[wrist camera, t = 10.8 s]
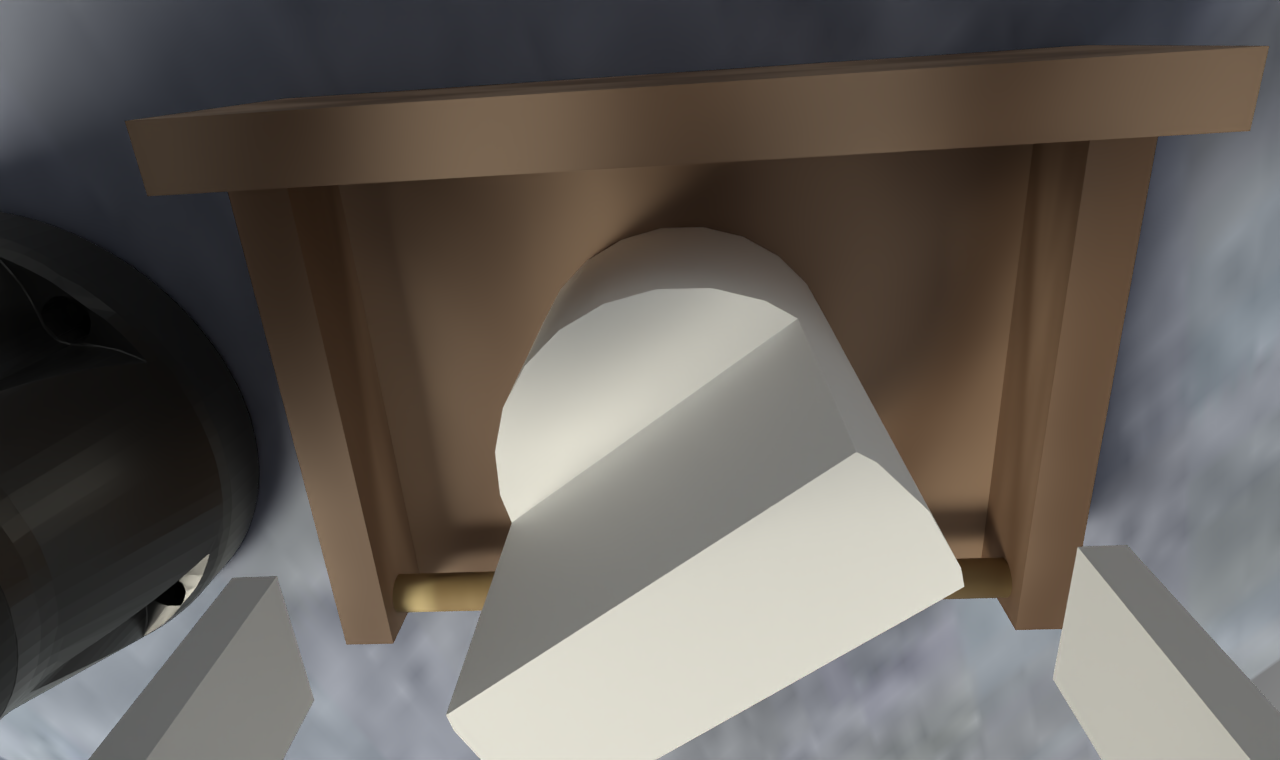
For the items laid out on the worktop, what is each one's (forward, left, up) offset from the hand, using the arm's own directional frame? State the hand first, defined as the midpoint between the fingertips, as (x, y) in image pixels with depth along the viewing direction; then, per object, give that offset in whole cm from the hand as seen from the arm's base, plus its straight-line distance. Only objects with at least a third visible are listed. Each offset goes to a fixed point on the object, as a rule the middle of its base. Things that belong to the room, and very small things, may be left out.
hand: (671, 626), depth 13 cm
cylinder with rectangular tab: (0, 0, -12) cm, 12 cm away
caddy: (0, 0, -13) cm, 13 cm away
